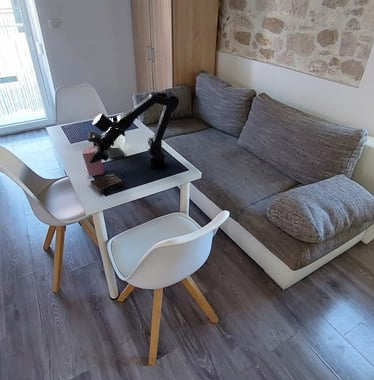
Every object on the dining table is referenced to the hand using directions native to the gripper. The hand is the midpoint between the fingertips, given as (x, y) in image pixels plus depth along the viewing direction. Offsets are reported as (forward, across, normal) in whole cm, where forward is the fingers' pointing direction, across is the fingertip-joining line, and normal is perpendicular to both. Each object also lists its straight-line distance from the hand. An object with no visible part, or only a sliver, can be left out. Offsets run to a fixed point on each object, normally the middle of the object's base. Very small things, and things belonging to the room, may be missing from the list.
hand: (90, 159), depth 152 cm
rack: (+2, +12, +10) cm, 16 cm away
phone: (-3, -22, +15) cm, 26 cm away
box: (+4, 0, +7) cm, 8 cm away
